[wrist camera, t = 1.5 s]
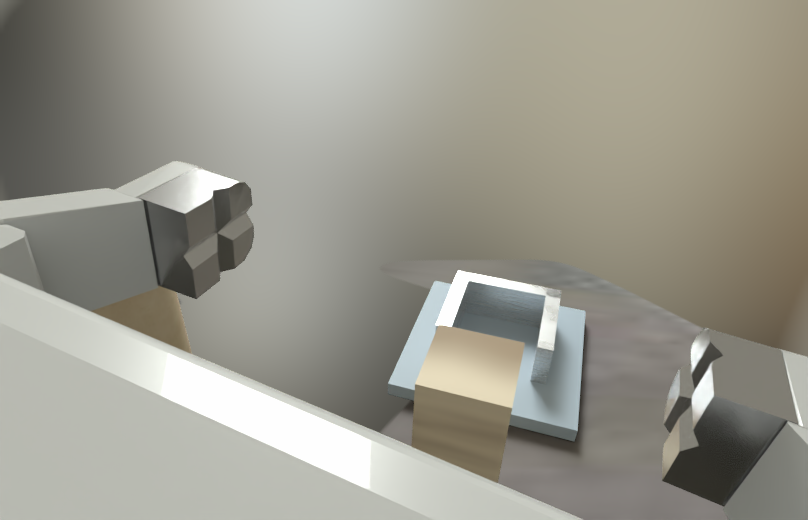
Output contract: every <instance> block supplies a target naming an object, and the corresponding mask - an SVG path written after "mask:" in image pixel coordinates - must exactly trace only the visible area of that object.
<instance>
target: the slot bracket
mask: <svg viewBox="0 0 808 520" xmlns="http://www.w3.org/2000/svg"><path fill="white" fill-rule="evenodd" d="M560 297H561V290H556V289H551V288H546V287H541V286H535V285H530V284H525V283H520V282H515V281H510V280H504V279H499V278H494V277H489V276H484V275H479V274H474V273H468V272H463V271H458V272H457V274H456V277H455V279H454V282H453V284H452V286H451V289H450V291H449V294H448V296H447V299H446V301H445V304H444V306H443V309H442V311H441V314H440V316H439V318H438V321H437V323H436V330H437V328H438V325H439V324H441V325H446V326H451V327H455V328H460V325H461V322H462V319H463V316H464V313H465V312H466V313H470V314H475V315H480V316H485V317H489V318H494V319H499V320H503V321H508V322H513V323H518V324H522V325H527V326H532V327H537V328H539V332H538V338H537V344H536V350H535V356H534V362H533V367H532V373H531V379H530V381H532V382H537V383H541V384H545V385H546V381H547V376H548V372H549V368H550V364H551V359H552V355H553V351H554V343H555V336H556V328H557V320H558V312H559V305H560ZM436 330H435V333H436Z"/></svg>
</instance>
